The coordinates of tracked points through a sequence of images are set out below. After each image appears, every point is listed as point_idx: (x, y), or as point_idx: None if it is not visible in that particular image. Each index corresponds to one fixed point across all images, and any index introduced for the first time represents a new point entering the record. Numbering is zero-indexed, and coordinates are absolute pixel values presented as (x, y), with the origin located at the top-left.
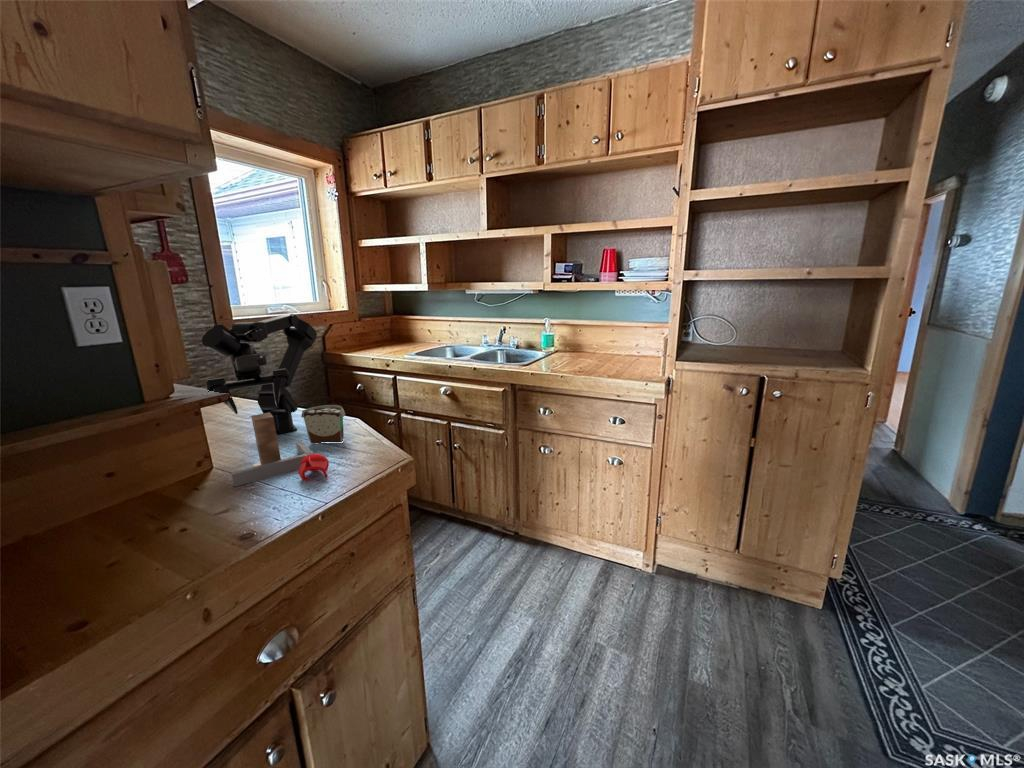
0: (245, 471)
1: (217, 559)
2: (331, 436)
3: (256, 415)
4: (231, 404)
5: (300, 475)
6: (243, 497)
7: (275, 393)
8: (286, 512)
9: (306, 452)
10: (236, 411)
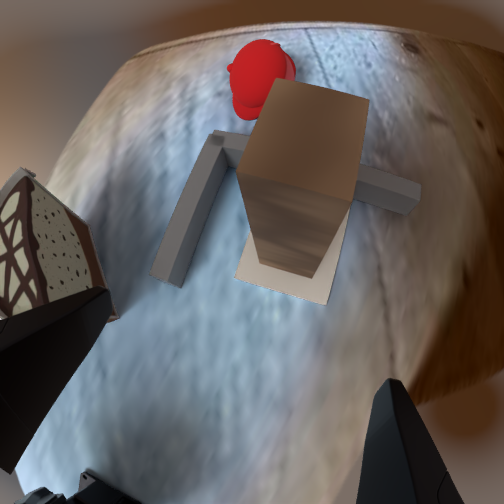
0: (390, 174)
1: (438, 45)
2: (82, 242)
3: (325, 176)
4: (426, 436)
5: None
6: (403, 134)
7: (29, 327)
8: (358, 46)
9: (215, 151)
10: (395, 379)
